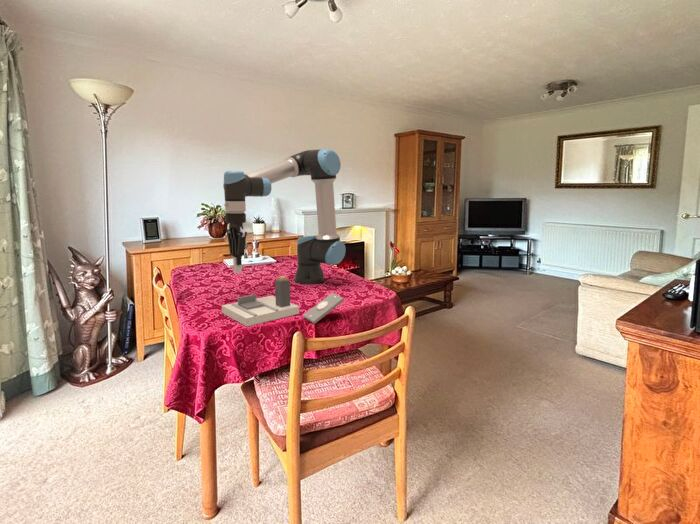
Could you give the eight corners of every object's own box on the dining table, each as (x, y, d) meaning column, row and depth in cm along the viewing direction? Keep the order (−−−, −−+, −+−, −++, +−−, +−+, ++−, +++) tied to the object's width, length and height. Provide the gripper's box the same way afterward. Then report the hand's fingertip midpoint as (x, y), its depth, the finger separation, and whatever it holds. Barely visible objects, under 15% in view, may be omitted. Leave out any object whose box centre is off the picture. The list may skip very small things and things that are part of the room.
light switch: (301, 313, 150) (331, 290, 156) (308, 325, 153) (337, 302, 158) (312, 319, 143) (342, 295, 149) (319, 332, 146) (349, 308, 151)
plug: (275, 305, 156) (274, 276, 154) (284, 303, 158) (283, 275, 156) (281, 307, 153) (280, 278, 151) (290, 305, 155) (289, 277, 153)
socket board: (222, 312, 156) (221, 303, 155) (272, 302, 170) (271, 294, 169) (246, 326, 141) (246, 316, 140) (299, 313, 155) (299, 304, 154)
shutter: (237, 305, 155) (237, 297, 154) (254, 302, 159) (254, 294, 158) (246, 309, 149) (246, 301, 149) (263, 306, 154) (263, 298, 153)
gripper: (218, 211, 157) (221, 271, 161) (233, 213, 147) (236, 277, 151) (236, 211, 162) (239, 269, 166) (252, 213, 152) (254, 274, 156)
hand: (237, 272), depth 159 cm, fingers closed
